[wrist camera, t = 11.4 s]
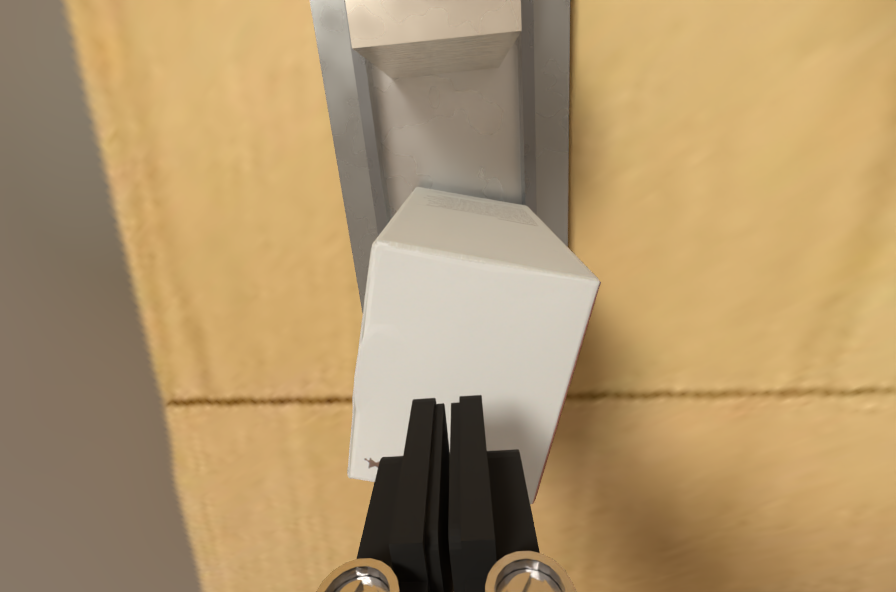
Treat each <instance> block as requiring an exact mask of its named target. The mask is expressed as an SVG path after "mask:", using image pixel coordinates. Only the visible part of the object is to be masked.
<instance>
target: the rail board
mask: <svg viewBox="0 0 896 592" xmlns="http://www.w3.org/2000/svg"><path fill="white" fill-rule="evenodd" d="M310 5H311V11H312V17H313V23H314V29H315V35H316V41H317V47H318V53H319V58H320V64H321V70H322V76H323V82H324V88H325V94H326V100H327V106H328V112H329V118H330V123H331V129H332V135H333V141H334V147H335V153H336V159H337V165H338V171H339V177H340V183H341V188H342V194H343V200H344V206H345V212H346V218H347V224H348V230H349V236H350V242H351V247H352V253H353V259H354V265H355V271H356V277H357V283H358V289H359V295H360V301H361V307H362V312H363V309H364V300H365V292H366V284H367V276H368V268H369V261H370V253H371V248H372V244H373V242H374V241H375V240H376V238H377V237H378V236H379V234H380V233H381V232H382V231H383V229H384V228H385V227H386V226H387V224H388V223H389V222H390V220H391V219H392V218H393V216H394V215H395V214H396V212H397V211H398V210H399V209H400V207H401V206H402V205H403V203H404V202H405V201H406V200H407V198H408V197H409V196H410V195H411V193H412V192H413V191H414V189H415V188H416V187H422V188H427V189H433V190H439V191H445V192H450V193H456V194H462V195H468V196H473V197H479V198H485V199H491V200H497V201H502V202H508V203H514V204H520V205H526V206H528V207H529V208H530V209H531V210H532V211H533V212H534V213H535V214H536V215H537V216H538V217H539V218H540V219H541V220H542V221H543V222H544V223H545V224H546V225H547V226H548V227H549V228H550V230H551V231H552V232H553V233H554V234H555V235H556V236H557V237H558V238H559V239H560V240H561V241H562V242H563V243H564V244H565V245H566V246H567V247H568V166H569V62H570V0H310Z"/></svg>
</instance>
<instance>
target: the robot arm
mask: <svg viewBox="0 0 896 592" xmlns="http://www.w3.org/2000/svg"><path fill="white" fill-rule="evenodd" d="M316 592H576V589H575V587H574V584H573V582H572V580H571V579H570V577H569V575H568V574H567V572H566V570H565V569H564V568H563V567H561V566H560V565H559V564H558V563H557V562H556V561H555V560H553V559H551V558H550V557H548V556H546V555H544V554H541V553H540V552H539V547H538V542H537V537H536V532H535V527H534V522H533V517H532V512H531V507H530V502H529V496H528V491H527V486H526V481H525V476H524V471H523V466H522V461H521V456H520V452H519V449H514V450H496V451H487V448H486V437H485V426H484V416H483V405H482V395H472V396H460V397H459V402H457V403H451V425H450V450H449V441H448V431H447V422H446V412H445V405H444V403H441V404H436V399H435V398H425V399H413V401H412V406H411V412H410V418H409V424H408V430H407V436H406V442H405V448H404V454H403V456H392V457H382V458H381V459H380V462H379V466H378V470H377V474H376V478H375V483H374V487H373V491H372V496H371V500H370V504H369V508H368V513H367V517H366V521H365V525H364V530H363V534H362V538H361V542H360V547H359V551H358V555H357V559H356V560H353V561H350V562H347V563H344V564H343V565H341V566H339V567H338V568H336V569H335V570H333V571H332V572H331V573H330V574H329V575H328V576H327V577H326V578H325V579H324V580H323V581H322V583H321V584H320V586H319V588H318V589H317V591H316Z"/></svg>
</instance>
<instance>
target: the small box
mask: <svg viewBox="0 0 896 592" xmlns="http://www.w3.org/2000/svg"><path fill="white" fill-rule="evenodd" d="M600 284H601V282H600V281H599V279H598V278H597V277H596V276H595V275H594V274H593V273H592V272H591V271H590V270H589V269H588V268H587V267H586V266H585V265H584V263H583V262H582V261H581V260H580V259H579V258H578V257H577V256H576V255H575V254H574V253H573V252H572V251H571V250H570V249H569V248H568V247H567V246H566V245H565V244H564V243H563V242H562V241H561V240H560V239H559V238H558V237H557V236H556V235H555V234H554V233H553V232H552V231H551V230H550V228H549V227H548V226H547V225H546V224H545V223H544V222H543V221H542V220H541V219H540V218H539V217H538V216H537V215H536V214H535V213H534V212H533V211H532V210H531V209H530V208H529V207H528V206H526V205H520V204H514V203H508V202H502V201H497V200H491V199H485V198H479V197H473V196H468V195H462V194H456V193H450V192H445V191H439V190H433V189H427V188H422V187H416V188H415V189H414V191H413V192H412V193H411V195H410V196H409V197H408V198H407V200H406V201H405V202H404V203H403V205H402V206H401V207H400V209H399V210H398V211H397V212H396V214H395V215H394V216H393V218H392V219H391V220H390V222H389V223H388V224H387V226H386V227H385V228H384V229H383V231H382V232H381V233H380V234H379V236H378V237H377V238H376V240H375V241H374V242H373V244H372V248H371V253H370V261H369V268H368V276H367V284H366V292H365V300H364V309H363V318H362V325H361V333H360V341H359V350H358V356H357V363H356V369H355V378H354V390H353V416H352V427H351V439H350V449H349V462H348V477H349V478H353V479H360V480H366V481H371V482H375V478H376V474H377V470H378V466H379V462H380V459H381V458H382V457H392V456H403V454H404V448H405V442H406V436H407V430H408V424H409V418H410V412H411V406H412V401H413V399H425V398H435V399H436V404H441V403H444V405H445V412H446V422H447V431H448V441H449V450H450V425H451V403H457V402H459V397H460V396H472V395H482V405H483V416H484V426H485V437H486V448H487V451H496V450H514V449H519V452H520V456H521V461H522V466H523V471H524V476H525V481H526V486H527V491H528V496H529V502H530V504H533V503H534V501H535V499H536V496H537V493H538V489H539V486H540V483H541V479H542V476H543V473H544V469H545V466H546V462H547V459H548V456H549V453H550V449H551V446H552V443H553V439H554V436H555V433H556V430H557V426H558V423H559V419H560V416H561V412H562V409H563V406H564V403H565V400H566V396H567V393H568V389H569V386H570V383H571V380H572V377H573V374H574V370H575V367H576V363H577V359H578V356H579V353H580V350H581V347H582V343H583V340H584V336H585V333H586V330H587V326H588V323H589V320H590V316H591V313H592V310H593V306H594V303H595V300H596V296H597V293H598V289H599V286H600Z"/></svg>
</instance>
